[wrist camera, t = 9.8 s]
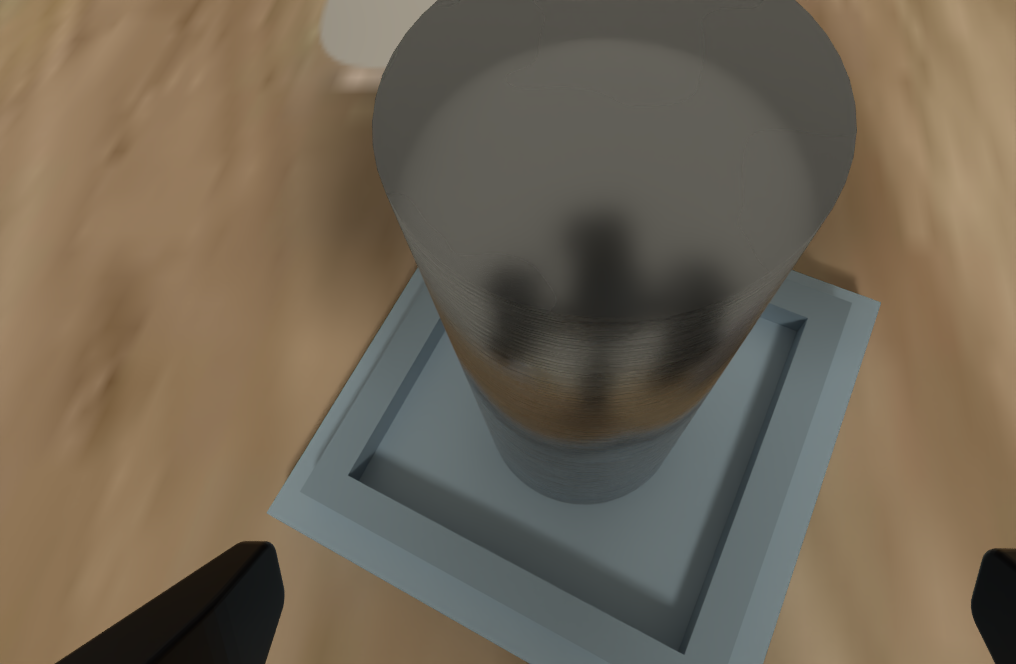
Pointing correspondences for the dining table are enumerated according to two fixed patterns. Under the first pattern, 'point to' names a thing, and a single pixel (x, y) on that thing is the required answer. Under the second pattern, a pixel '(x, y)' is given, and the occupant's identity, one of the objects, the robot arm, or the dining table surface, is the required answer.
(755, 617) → the plate
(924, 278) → the dining table surface
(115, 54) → the dining table surface
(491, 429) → the grey shiny round cylinder
